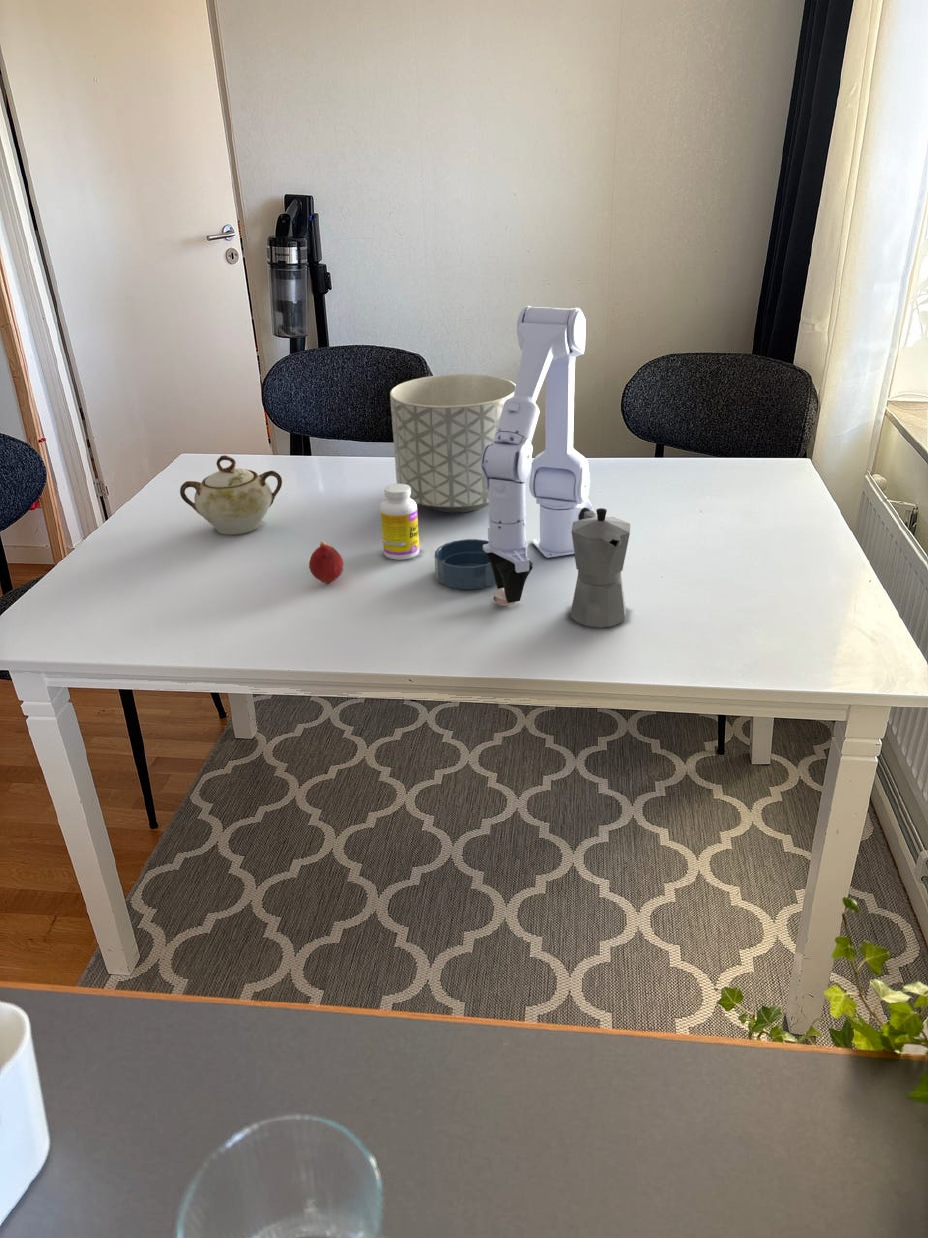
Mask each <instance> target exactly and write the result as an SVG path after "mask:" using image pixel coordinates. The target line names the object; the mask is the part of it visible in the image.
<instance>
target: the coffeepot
mask: <svg viewBox="0 0 928 1238" xmlns="http://www.w3.org/2000/svg"><path fill="white" fill-rule="evenodd" d="M607 510H608V509H607V508H603V507H600V508H596V509H595V512H594V510H593V511H590V509H589V508H586V507H585V508H583V509H581V511H580V513H579V515H578V519H579V520H578V521H575V522H573V525H572V531H571V532H572V539H573V546H574V553H575V554H574V559H575V568H576V570H577V577H576V583H575V589H574V592H573V598H572V604H571V610H570V618H571V619H572V620H573V621H574V622H576V623H578V624H580V625H582V626H585V627H590V628H609V627H614V626H616V625H619V624H621V623H622V622H624V621H625V620H626V611H627V609H626V602H625V601H626V600H625V594H624V586H623V578H622V572H623V571H624V570H623V569H624V565H625V559H626V555H627V551H628V545H629V540H630V534H631V523H630V522H627V521H625V520H623V519H619V518H617V517H615V516H607V512H608V511H607Z"/></svg>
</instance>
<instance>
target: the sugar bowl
mask: <svg viewBox="0 0 928 1238" xmlns="http://www.w3.org/2000/svg"><path fill="white" fill-rule="evenodd" d="M223 461H228V462H230V463H231V464H230V465H229V466H228V467H222V465H221V462H223ZM236 463H237V461H236V460H235V459H234V458H232V457H230V456H228V455H226V454H225V455H220V456H219V457H218V458H217V460H216V467H217V471H215V472H213V473H211V474H210V475H207V477H204V478H203V479H202V480H201V482H199V481H195V480H188V481H187V480H186V481H185V482H183V483H182V485H181V486H180V488H179V495H180V498H181V499H182V500H183V501H184V502H185V503H186V504H187V505H188V506H190V507H191V508H192V509H193V510H194V511H195V512H196V513H197V514H198V515H200V516H201V517H202V518H203V519H204V520H205V521H206V522H208V523H209V524H210V525H211V526H212V527H213V528H214V529H215V530H216V531H217V532H218V533H220V534H222V535H230V536H235V535H241V534H242V535H243V534H246V533H247V534H248V533H249V532H252V531H254V530H256V529H258V528H259V527H260V526H261V524H262V520H263V519H264V517H265V516H266V514H267V512H268V510H269V509H270V507H271V506H272V505H273V503H274V500H275V499H276V496H277V495H278V493H279V492H280V490H281V488H282V485H283V479H282V476H281V475H280V473H278V472H277V471H276V470H268V471H265V472H262V473H261V474H258V473H257V472H256V471H254V470H251V469H244V468H238V467H237V468H236V466H237V464H236ZM269 477H274V478H275V479H276V481H277V484H276V486H275V489H274V491H272V488H271V486H270V484H269V482H268V481H267V480H266V479H268V478H269ZM188 488H193V489H195V493H194V497H193V498H194V502H193V501H191V499H189V497H188V496H187V494H186V490H187V489H188Z"/></svg>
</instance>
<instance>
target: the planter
mask: <svg viewBox="0 0 928 1238" xmlns="http://www.w3.org/2000/svg"><path fill="white" fill-rule="evenodd" d="M515 386H516V383H514V382H513V381H511V380H509V379H506V378H502V377H499V376H494V375H487V374H475V373H474V374H472V373H452V374H440V375H429V376H424V377H419V378H413V379H411V380H407V381H404V382H401V383H399V384H396V386H394V387H393V388H392V389H391V390H390V392H389V398H390V411H391V424H392V438H393V439H392V440H393V452H394V463H395V464H394V466H395V478H396V484H406V485H409V486H410V489H411V494H410V498H411V499H413V500H414V501H415V502H416V504H418V505H422V506H423V507H427V508H429V509H432V510H434V511H438V512H444V513H452V514H459V513H460V514H461V513H468V512H474V511H477V510H480V509H482V508H485V507H488V506H489V492H488V490H486V488H485V480H484V477H483V475H482V472H481V462H482V455H483V451H484V449H485V447H486V446H487V445H489V444H490V445H491V443H492V442H493V439H494V436H495V433H496V429H497V426H498V422H499V419H500V416H501V412H502V409H503V405H504V402H505V401H506V400H507V399H509V398H511V397H513V396H514V391H515Z"/></svg>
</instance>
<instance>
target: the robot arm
mask: <svg viewBox="0 0 928 1238" xmlns="http://www.w3.org/2000/svg"><path fill="white" fill-rule="evenodd" d="M586 322H587V321H586V317H585V316H584V313H583V311H582V310H581V309H580V308H579V307H573V308H566V307H565V308H564V307H544V306H543V307H541V306H540V307H539V306H531V305H525V306H524V307H523V308H522V309H521V311H520V312H519V314H518V317H517V321H516V335H517V341H518V345H519V349H520V351H521V356H520V360H519V366H518V370H517V371H518V372H517V377H516V382H515V385H516V386H515V391H514V396H513V397H511V398H509V399H507V400H506V401H505V402H504V405H503V409H502V412H501V416H500V419H499V422H498V426H497V429H496V433H495V436H494V439H493V442H492V443H491V445H490V444H489V445H487V446H486V447H485V449H484V451H483V455H482V462H481V472H482V475H483V477H484V480H485V488H486V490H488V492H489V505H488V520H489V521H488V522H489V523H488V524H489V525H488V526H489V527H488V528H487V535H488V536H487V539H488V541H489V543H488V544H484V545H483V550H484V552H485V553H486V555H487V557H488V559H489V561H490V564H491V567H492V570H493V574H494V578H495V582H496V583H495V585H496V588H497V589H500V588H504V591H505V597H506V600H507V602H508V603H512V602H515V603H519V602H520V601H521V599H522V595H523V593H524V592H523V591H524V587H525V583H526V581H527V579H528V576H529V575H530V573H531V571H532V570H533V568H534V564H533V562H532V560H530V559H529V558H528V542H527V539H526V535H527V534H526V532H527V531H526V530H527V529H526V527H527V526H526V525H527V524H526V481H527V479H528V478H529V484H528V485H529V486H528V487H529V492H530V494H531V496H532V497H533V499H535V500H536V501H535V502H536V503H535V504H537V505H539V538H536V539H532V540H531V543H532V544H533V545H534V546H535V547H536V549H538V551H539V552H540V553H541V554H542V555H543V556H544V557H546V559H550V558H556V557H563V556H569V555H575V553H574V546H573V539H572V532H571V531H572V525H573V522H575V521H578V520H579V519H578V515H579V513H580V511H581V509H583V508H585V507H586V508H589V509H590V511H593V512H594V509H593V505H592V503H591V502H590V500H589V499H588V497H589V493H590V489H591V475H590V470H589V469H590V468H589V466H590V465H589V460H588V458H586V457H585V456H584V455H583V454H581V453H580V452H578V451H577V450H576V449H575V448H574V422H575V421H574V418H575V417H574V416H575V375H576V374H575V371H576V358H577V357H579V356H583V355H584V354H585V348H586ZM544 381H545V429H544V430H545V431H544V432H545V437H544V438H545V439H544V441H545V442H544V443H545V444H544V445H545V448H544V450H543V451H541V452H539V454H537V455H536V456H535V457H534V459H533V458H532V457H533V451H534V450H533V449H534V447H533V445H532V441H533V437H534V434H535V431H536V427H537V424H538V420H539V416H540V413H541V412H540V411H541V410H540V408H539V406H538V405H537V404H536V402H537V399H538V396H539V394H540V391H541V388H542V386H543V383H544ZM532 459H533V460H532ZM529 475H530V476H529Z"/></svg>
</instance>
